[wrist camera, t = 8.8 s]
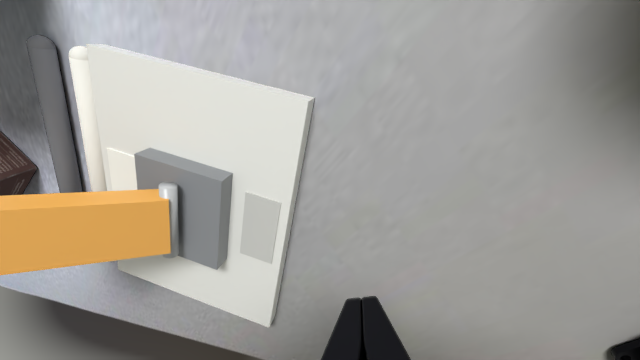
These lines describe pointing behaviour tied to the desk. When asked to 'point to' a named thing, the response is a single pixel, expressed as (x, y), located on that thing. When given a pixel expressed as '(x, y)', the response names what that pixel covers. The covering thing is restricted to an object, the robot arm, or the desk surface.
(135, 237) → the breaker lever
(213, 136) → the breaker panel
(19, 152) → the box
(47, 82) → the rods
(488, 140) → the desk surface
